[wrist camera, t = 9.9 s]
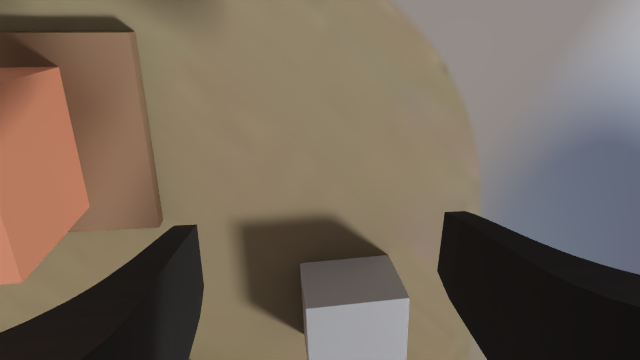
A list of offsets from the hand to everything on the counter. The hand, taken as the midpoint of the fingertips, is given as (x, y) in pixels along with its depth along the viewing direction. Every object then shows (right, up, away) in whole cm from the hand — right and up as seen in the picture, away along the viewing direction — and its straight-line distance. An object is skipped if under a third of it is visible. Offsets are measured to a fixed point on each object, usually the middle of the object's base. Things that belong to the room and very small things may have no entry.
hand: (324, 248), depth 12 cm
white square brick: (+1, -5, +12) cm, 13 cm away
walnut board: (-13, +4, +7) cm, 15 cm away
